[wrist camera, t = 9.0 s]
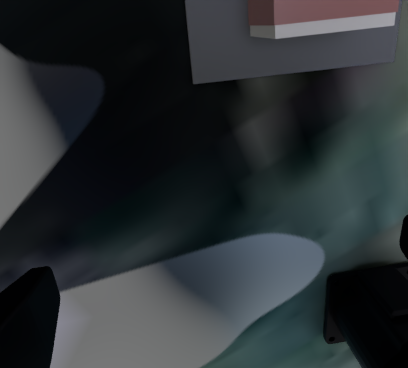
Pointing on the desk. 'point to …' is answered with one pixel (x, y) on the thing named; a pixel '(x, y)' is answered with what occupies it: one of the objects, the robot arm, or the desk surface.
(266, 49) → the desk mat
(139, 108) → the desk surface
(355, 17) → the card deck box
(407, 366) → the robot arm
